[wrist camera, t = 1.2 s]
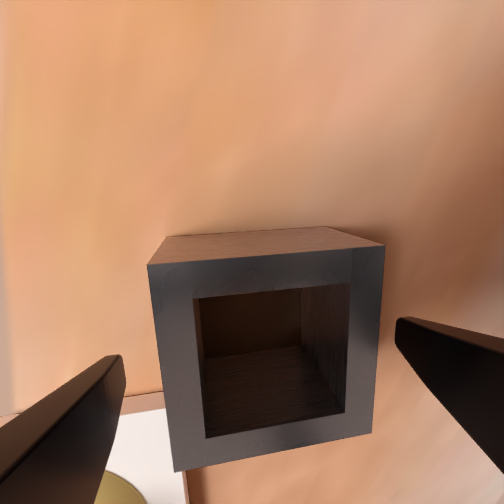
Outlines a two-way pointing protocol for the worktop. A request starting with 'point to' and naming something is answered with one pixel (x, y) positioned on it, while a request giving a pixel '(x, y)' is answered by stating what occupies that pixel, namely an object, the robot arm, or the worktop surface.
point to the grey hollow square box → (274, 360)
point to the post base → (140, 457)
